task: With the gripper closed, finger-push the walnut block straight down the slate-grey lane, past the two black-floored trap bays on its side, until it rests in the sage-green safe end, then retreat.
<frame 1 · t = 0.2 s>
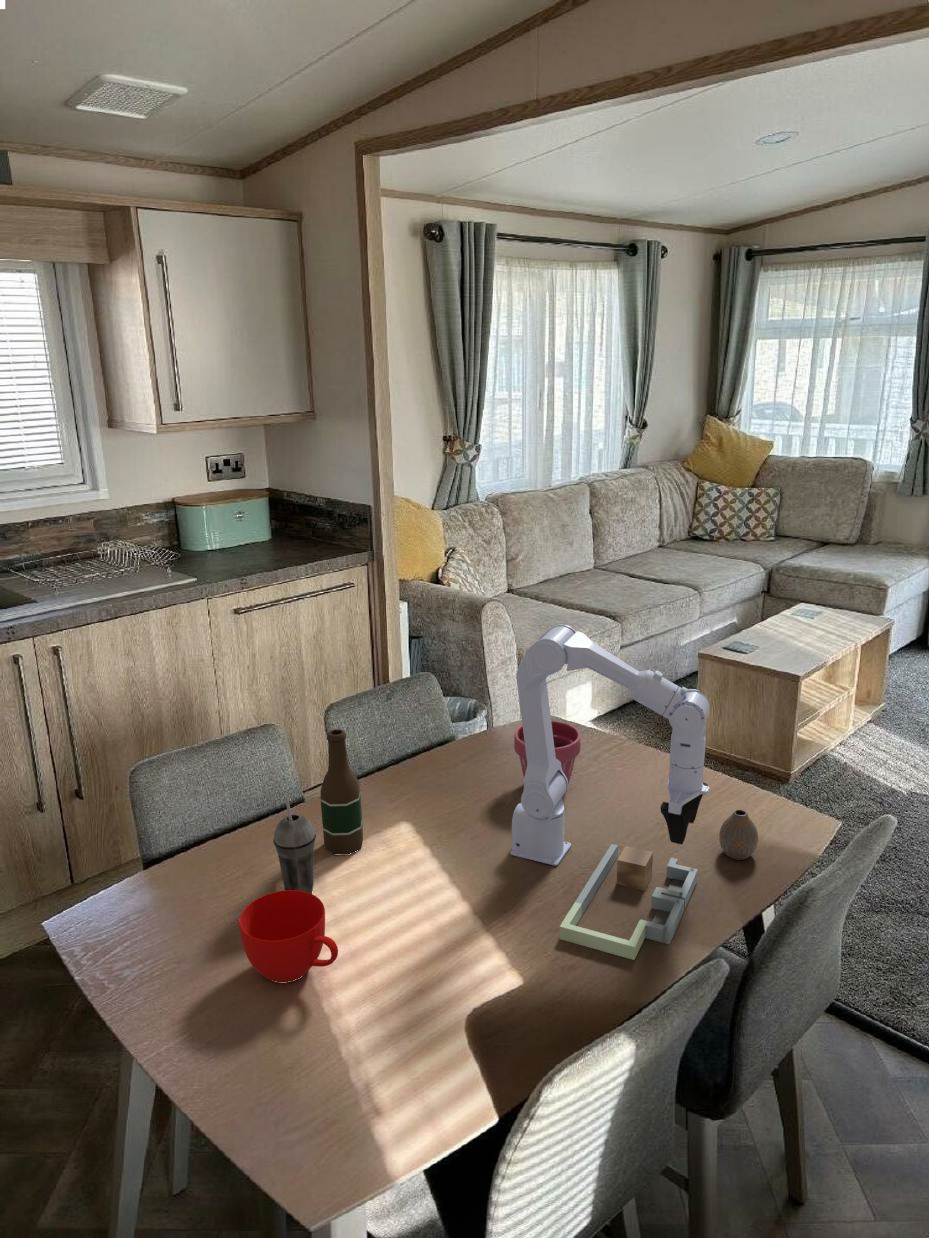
hand: (682, 831, 158), 10 cm above the table, fingers open, 7 cm apart
walnut block: (634, 880, 162), on the table
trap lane: (624, 897, 156), on the table
vase: (737, 855, 169), on the table
beer bottle: (344, 846, 175), on the table
beverage cup: (299, 896, 159), on the table
plant pot: (547, 788, 195), on the table
ceramic cup: (297, 974, 140), on the table
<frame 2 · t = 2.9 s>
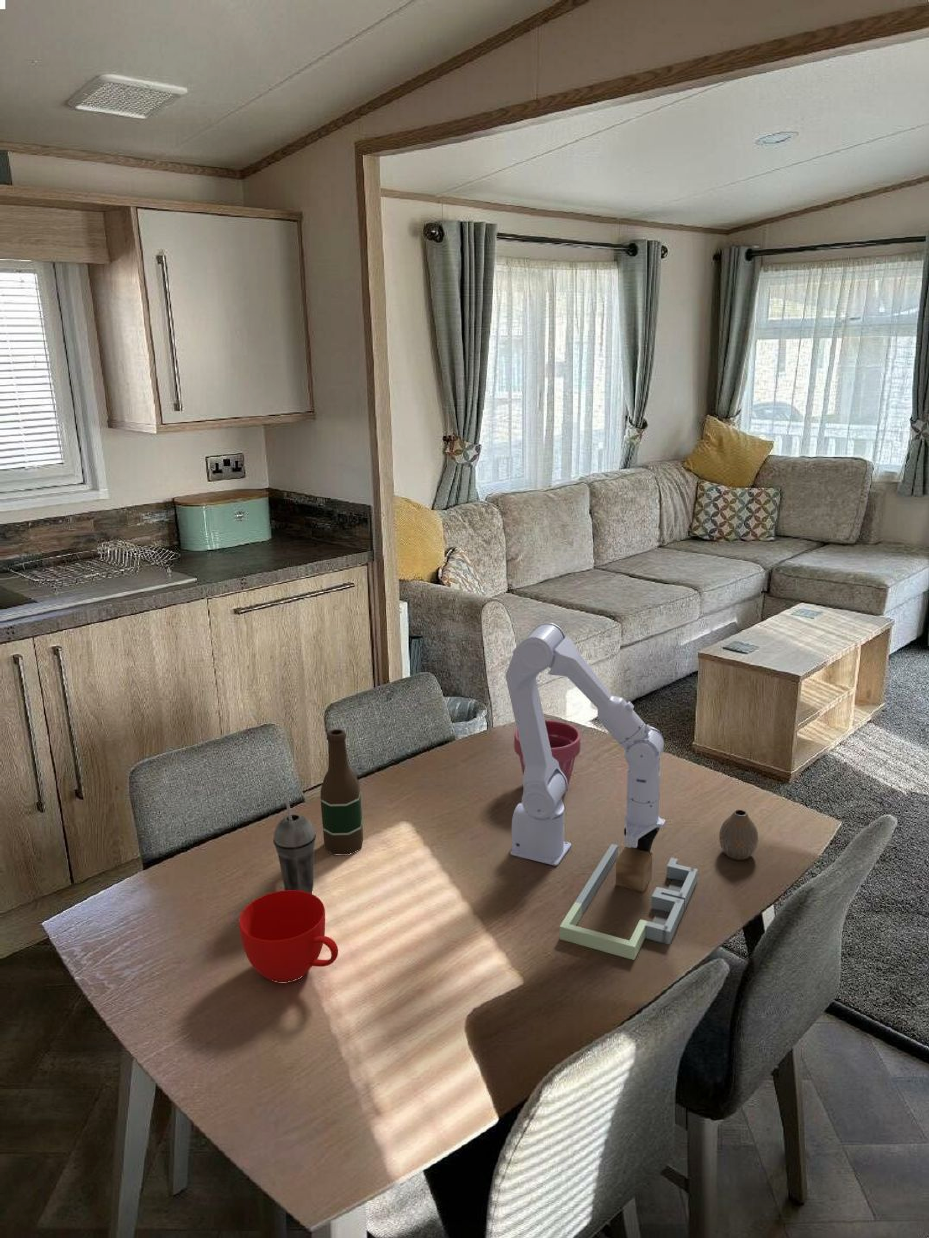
hand: (640, 862, 164), 1 cm above the table, fingers closed
walnut block: (633, 881, 161), on the table, touching gripper
everything else where it was.
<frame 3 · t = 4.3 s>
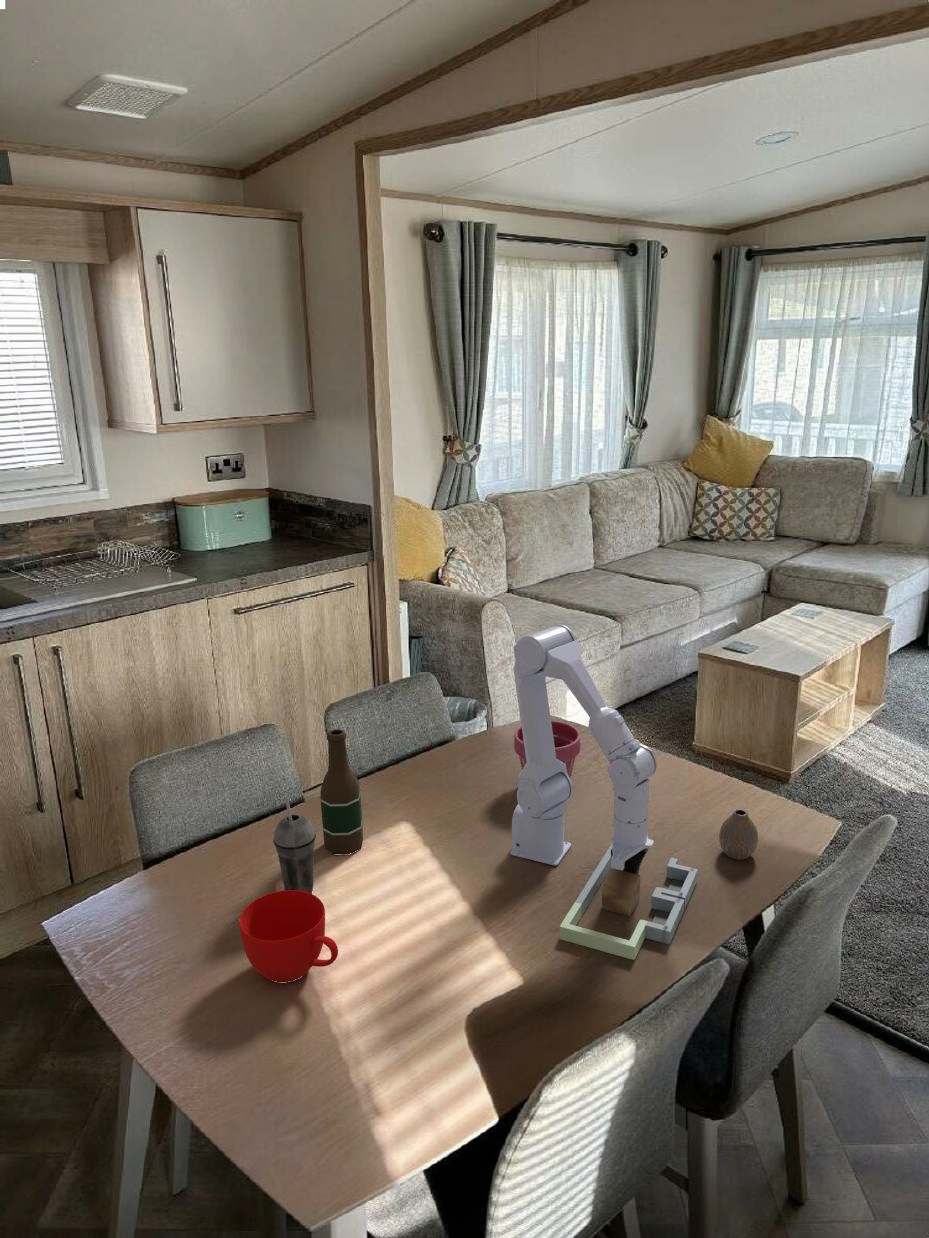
hand: (628, 884, 158), 1 cm above the table, fingers closed
walnut block: (620, 904, 155), on the table, touching gripper
everything else where it was.
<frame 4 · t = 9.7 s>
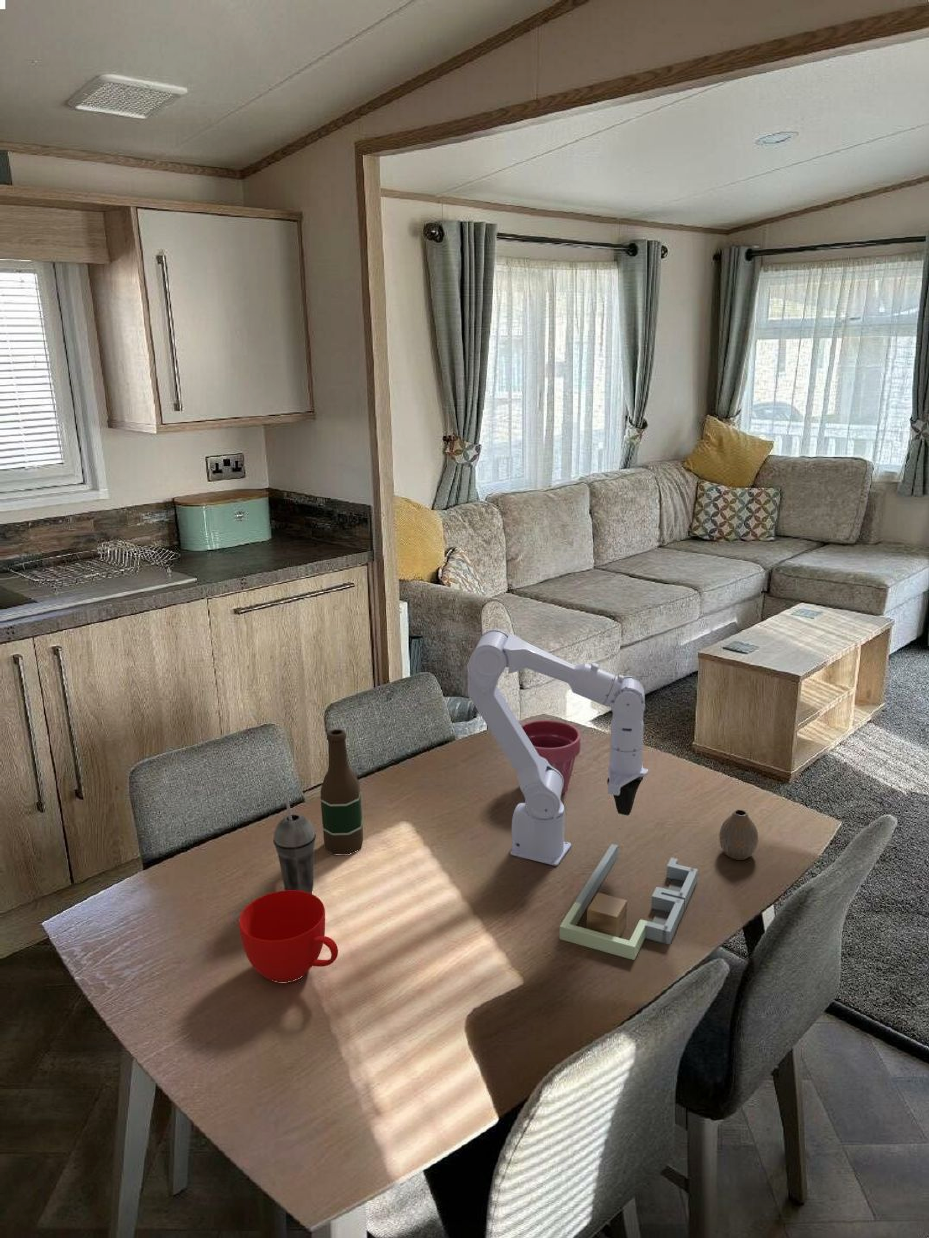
hand: (624, 812, 166), 9 cm above the table, fingers closed
walnut block: (606, 930, 148), on the table
everything else where it was.
at the end: walnut block inside the target area (0.5 cm from its centre), on the table; walnut block tilted 0°; the gripper is holding nothing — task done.
